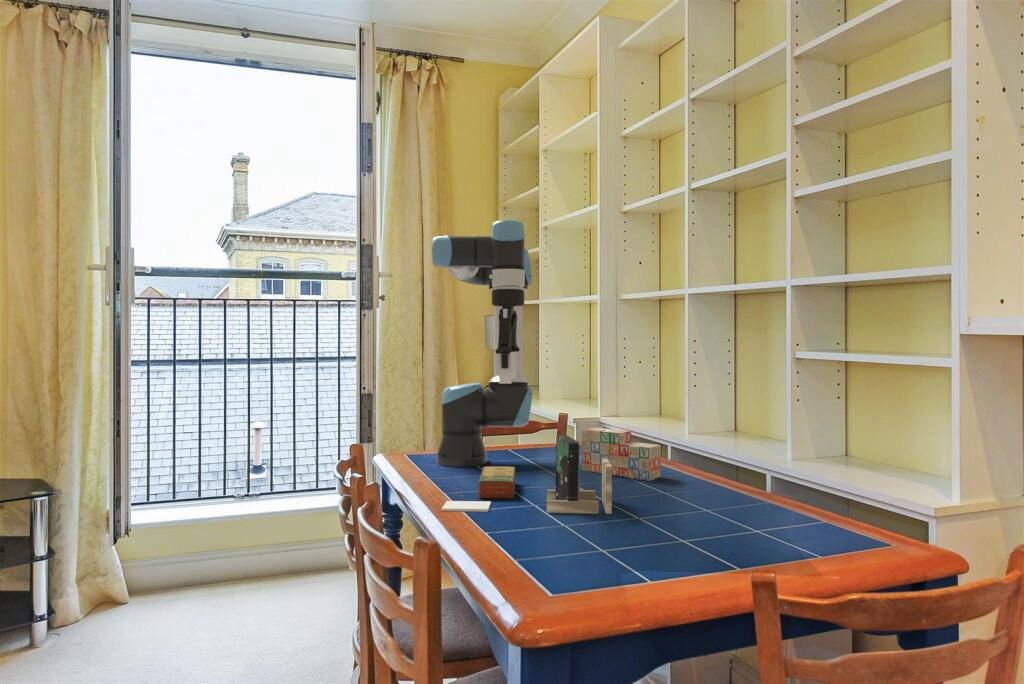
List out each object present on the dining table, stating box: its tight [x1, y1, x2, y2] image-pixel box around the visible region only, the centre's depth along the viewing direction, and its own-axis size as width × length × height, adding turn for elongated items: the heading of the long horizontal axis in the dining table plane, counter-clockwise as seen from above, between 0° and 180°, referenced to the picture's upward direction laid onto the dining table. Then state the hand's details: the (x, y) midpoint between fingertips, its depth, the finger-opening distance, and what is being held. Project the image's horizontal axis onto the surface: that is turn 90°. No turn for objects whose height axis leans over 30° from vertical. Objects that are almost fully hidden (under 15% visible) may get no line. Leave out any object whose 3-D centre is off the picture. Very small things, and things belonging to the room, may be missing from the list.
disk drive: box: [555, 434, 581, 501], centre depth 149 cm, size 10×3×15 cm, turn 12°
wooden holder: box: [546, 457, 613, 515], centre depth 149 cm, size 11×14×10 cm
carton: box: [477, 466, 516, 499], centre depth 164 cm, size 8×16×4 cm, turn 179°
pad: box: [441, 500, 492, 513], centre depth 149 cm, size 7×10×1 cm
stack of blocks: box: [581, 427, 662, 482], centre depth 184 cm, size 21×6×12 cm, turn 48°
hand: (508, 381), depth 157 cm, fingers open, 13 cm apart
